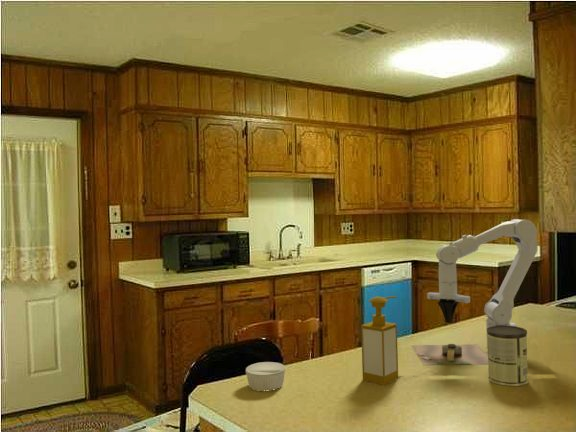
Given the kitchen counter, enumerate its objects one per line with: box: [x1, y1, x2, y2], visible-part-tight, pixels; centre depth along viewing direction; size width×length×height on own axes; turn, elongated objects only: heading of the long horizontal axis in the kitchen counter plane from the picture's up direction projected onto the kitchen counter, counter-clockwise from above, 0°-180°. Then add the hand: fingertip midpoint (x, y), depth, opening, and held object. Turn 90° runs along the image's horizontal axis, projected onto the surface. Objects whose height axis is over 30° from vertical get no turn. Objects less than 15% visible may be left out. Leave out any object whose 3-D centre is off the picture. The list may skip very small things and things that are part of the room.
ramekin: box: [245, 361, 286, 392], centre depth 150 cm, size 11×11×5 cm
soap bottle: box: [360, 296, 399, 386], centre depth 155 cm, size 7×13×24 cm, turn 137°
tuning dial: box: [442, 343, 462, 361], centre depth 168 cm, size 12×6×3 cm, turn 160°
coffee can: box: [486, 326, 529, 387], centre depth 148 cm, size 10×10×14 cm
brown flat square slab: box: [411, 343, 488, 366], centre depth 171 cm, size 22×22×1 cm
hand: (448, 322), depth 179 cm, fingers closed
